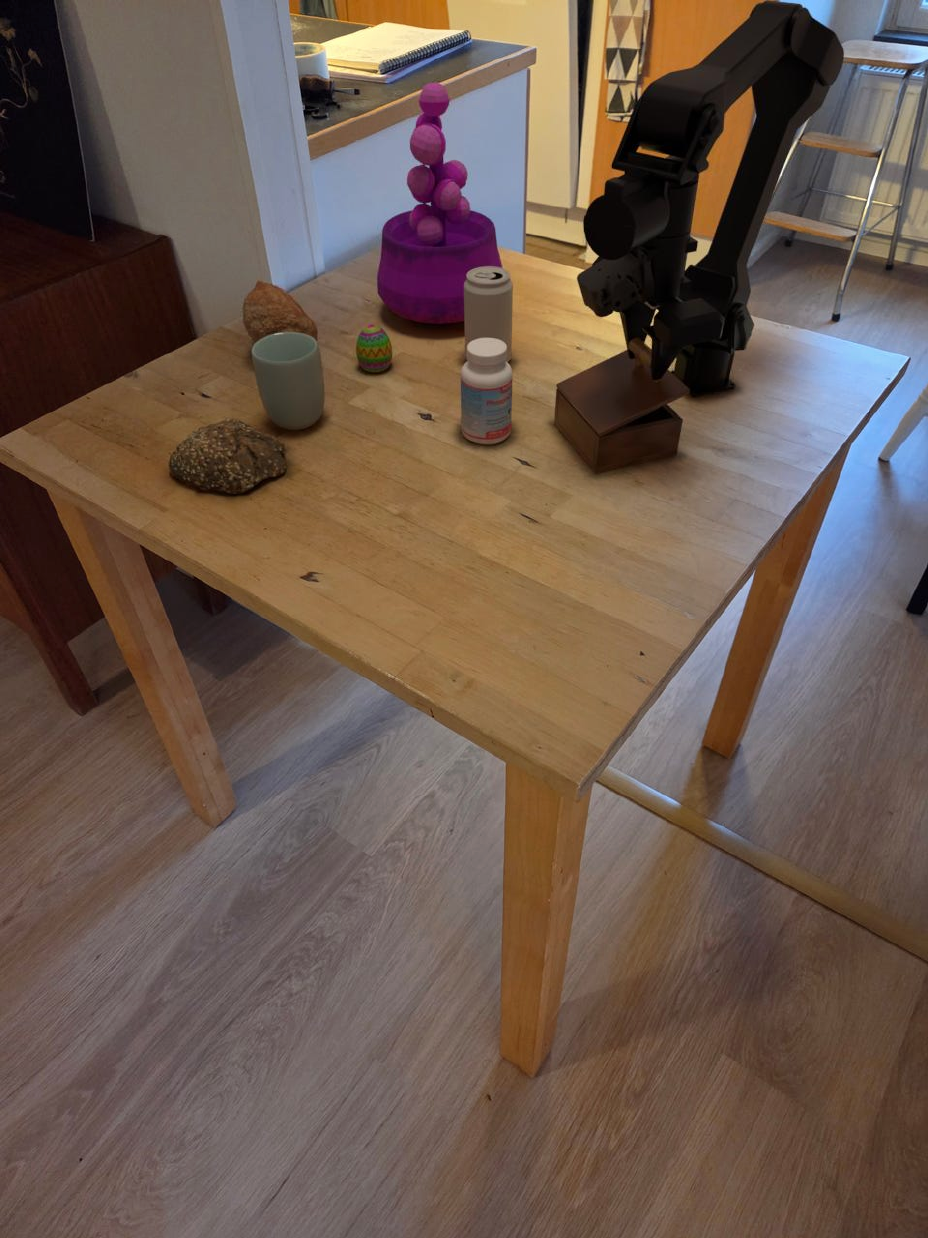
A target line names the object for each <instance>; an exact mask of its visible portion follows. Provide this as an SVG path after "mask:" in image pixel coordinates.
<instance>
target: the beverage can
mask: <svg viewBox="0 0 928 1238" xmlns="http://www.w3.org/2000/svg"><path fill="white" fill-rule="evenodd" d="M466 276H467V279H466V281H465V283H464V321H463V322H464V357H465V359H466V362H467V361H468V360H467V356H466V354H467V345H468V344H469V343H470V342H471V341H473V340H475V339H479V338H495V339H499V340H501V341H503V342H504V343H505V344H506V345H507V359H506V362H507V363H509V361H510V360H511V358H512V352H513V351H512V350H513V348H512V347H513V309H514V307H513V304H514V303H513V301H514V298H513V297H514V282H513V281H512V279H511V272H510V271H509V270H507V269H506V268H504V267H502V268H500V267H494V266H484V267H478V268H474V269H472V270H470V271H469V272H468V273H467V275H466Z"/></svg>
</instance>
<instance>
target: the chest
mask: <svg viewBox="0 0 928 1238" xmlns="http://www.w3.org/2000/svg"><path fill="white" fill-rule="evenodd" d="M554 403H555V404H554V415H553V416H554V420H553V424H554V426H555V427H556V428H557V429H558V430H559V432H560V433H561V434H562V436H564V438H565V439H566V440H567V441H568V443H569V444H570V445H571V446H572V447H573V449H575V451H576V452H577V453H578V455H579V456H580V457H581V458H582V459H583V460H584V462H585V463H586V464H587V466H588V467H589V468H590V469H591V470H592V471H593V473H594V474H600V473H604V472H605V473H606V472H610V471H613V470H617V469H622V468H626V467H631V466H636V465H639V464H643V463H649V462H652V461H656V460H657V461H658V460H661V459H665V458H669V457H674V456H677V454H678V450H679V444H680V438H681V434H682V428H683V423H684V418H682V417H681V416H680V415H679V414H678V413H677V412H676V411H675V410H674V409H673V408H671V406H670V405H668V404H666V405H664V406H662V407H660V408H658V409H656V410H654V411H652V412H650V413H648V414H646V415H644V416H642V417H640V418H638V419H636V420H634V421H632V422H630V423H627V424H625V425H623V426H621V427H619V428H617V429H615V430H613V431H611V432H609V433H607V434H605V435H603V436H601V437H600V436H599V435H598V434H597V432H596V431H595V430H594V429H593V428H592V427H591V426H590V425H589V423H588V422H587V421H586V420H585V419H584V418H583V417H582V416H581V414H580V413H579V412H578V411H577V410H576V409H575V408H574V407H573V405H572V404H571V403H570V402H569V401H568V400H567V399H566V398H565V396H564V395H563V394H562V393H561V392H560V391H559V390H558V389H557V388H556V389H555V402H554Z"/></svg>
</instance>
